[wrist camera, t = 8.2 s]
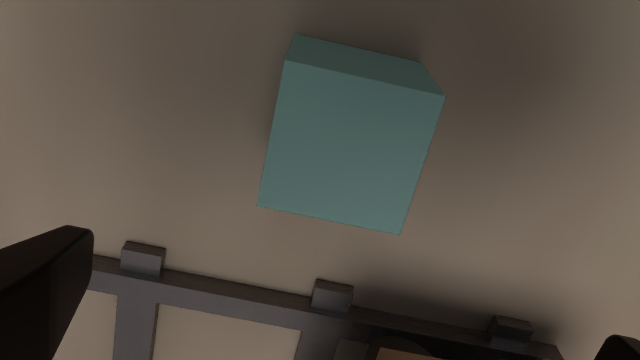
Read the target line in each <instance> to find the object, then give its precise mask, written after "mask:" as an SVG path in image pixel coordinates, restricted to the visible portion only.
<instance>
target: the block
mask: <svg viewBox="0 0 640 360" xmlns="http://www.w3.org/2000/svg"><path fill="white" fill-rule="evenodd" d="M445 98H446V96H445V95H444V93H443V92H442V91H441V89H440V88H439V87H438V85H437V84H436V83H435V81H434V80H433V78H432V77H431V76H430V74H429V73H428V72H427V70H426V69H425V68H424V66H423V65H422V64H421V62H416V61H412V60H408V59H403V58H399V57H395V56H390V55H386V54H382V53H377V52H373V51H369V50H364V49H360V48H356V47H351V46H347V45H343V44H338V43H334V42H330V41H325V40H321V39H317V38H312V37H308V36H304V35H299V34H294V37H293V39H292V42H291V45H290V47H289V50H288V52H287V55H286V57H285V60H284V65H283V70H282V76H281V81H280V86H279V91H278V96H277V101H276V107H275V112H274V117H273V122H272V127H271V132H270V137H269V143H268V148H267V153H266V158H265V163H264V168H263V174H262V179H261V184H260V189H259V194H258V199H257V205H256V206H260V207H265V208H270V209H275V210H279V211H284V212H289V213H294V214H299V215H304V216H309V217H314V218H318V219H323V220H328V221H333V222H338V223H343V224H348V225H353V226H357V227H362V228H367V229H372V230H377V231H382V232H387V233H392V234H396V235H400V233H401V230H402V227H403V224H404V221H405V218H406V215H407V212H408V209H409V206H410V203H411V200H412V197H413V194H414V191H415V188H416V185H417V182H418V179H419V176H420V173H421V170H422V167H423V164H424V161H425V158H426V155H427V152H428V149H429V146H430V143H431V140H432V137H433V134H434V131H435V128H436V125H437V122H438V119H439V116H440V113H441V110H442V107H443V104H444V101H445Z"/></svg>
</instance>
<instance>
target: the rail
mask: <svg viewBox="0 0 640 360" xmlns="http://www.w3.org/2000/svg"><path fill="white" fill-rule="evenodd" d="M165 251H166V249H163V248H158V247H153V246H148V245H143V244H138V243H133V242H128V241H127V242H126V243H125V245H124V246H123V248H122V251H121V260H117V259H112V258H107V257H102V256H97V255H93V265H92V275H91V279H90V282H89V285H88V287H87V289H88V290H93V291H98V292H103V293H108V294H114V295H118V300H117V312H116V324H115V336H114V348H113V360H152V355H153V347H154V339H155V331H156V323H157V315H158V307H159V303H160V304H166V305H171V306H176V307H181V308H186V309H192V310H197V311H202V312H207V313H212V314H218V315H223V316H228V317H233V318H238V319H244V320H249V321H254V322H259V323H264V324H270V325H275V326H280V327H285V328H290V329H296V330H301V331H302V333H301V336H300V340H299V344H298V347H297V351H296V354H295V358H294V360H333V358H334V355H335V352H336V348H337V345H338V342H339V339H340V338H343V339H348V340H353V341H358V342H363V343H369V344H370V343H371V342H372V341H374V340H375V339H377V338H380V337H384V336H396V337H402V338H405V339H408V340H411V341H413V342H415V343H417V344H418V345H420V346H422V347H423V348H424V349H426V350H427V351H428V352H429V353H430V354H431V355H432V356H436V357H441V358H447V359H452V360H564V359H563V357H562V355H561V354H560V352H559V350H558V348H557V347H556V346H552V345H547V344H542V343H537V342H532V341H530V339H531V337H532V335H533V333H534V330H533V328H532V326H531V324H530V322H527V321H522V320H517V319H512V318H507V317H502V316H497V315H495V316H494V318H493V320H492V322H491V324H490V327H489V329H488V331H487V333H486V332H481V331H476V330H471V329H466V328H461V327H456V326H451V325H446V324H441V323H436V322H431V321H426V320H421V319H415V318H410V317H405V316H400V315H395V314H390V313H385V312H380V311H375V310H370V309H365V308H360V307H355V306H350V304H351V301H352V298H353V287H352V286H348V285H343V284H338V283H333V282H328V281H323V280H318V279H316V282H315V285H314V289H313V293H312V296H311V298H309V297H304V296H299V295H294V294H289V293H284V292H279V291H274V290H269V289H264V288H259V287H254V286H249V285H243V284H238V283H233V282H228V281H223V280H218V279H213V278H208V277H203V276H198V275H193V274H188V273H183V272H178V271H173V270H168V269H163V267H164V259H165Z"/></svg>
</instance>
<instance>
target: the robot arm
mask: <svg viewBox="0 0 640 360" xmlns="http://www.w3.org/2000/svg"><path fill="white" fill-rule="evenodd" d="M93 247H94V235H93V232H92V231H91V230H90V229H86V228H81V227H76V226H71V225H65V226H62V227H59V228H56V229H54V230H51V231H48V232H46V233H43V234H40V235H37V236H35V237H32V238H29V239H26V240H24V241H21V242H18V243H16V244H13V245H10V246H7V247H5V248H2V249H0V360H52V359H53V357H54V355H55V353H56V351H57V349H58V347H59V345H60V343H61V341H62V339H63V336H64V334H65V332H66V330H67V328H68V326H69V324H70V322H71V320H72V318H73V316H74V314H75V312H76V310H77V308H78V306H79V304H80V302H81V300H82V298H83V296H84V294H85V292H86V289H87V287H88V285H89V282H90V279H91V275H92V265H93ZM594 360H640V341H639V340H637V339H635V338H631V337H626V336H621V335H611V336H609V337H608V338H607V339H606V340H605V342H604V343H603V345H602V347H601V348H600V350H599V352H598V353H597V355H596V357H595V359H594Z"/></svg>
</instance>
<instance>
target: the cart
mask: <svg viewBox="0 0 640 360" xmlns="http://www.w3.org/2000/svg"><path fill="white" fill-rule="evenodd" d="M364 360H444V359H439V358H434V357H433V356H432V355H431V354H430V353H429V352H428V351H427V350H426V349H424V348H423V347H422V346H420V345H418V344H417V343H415V342H413V341H411V340H408V339H405V338H402V337H396V336H384V337H380V338H377V339H375V340H374V341H372V342H371V343H370V345H369V346H368V348H367V351H366V354H365V357H364Z"/></svg>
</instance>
